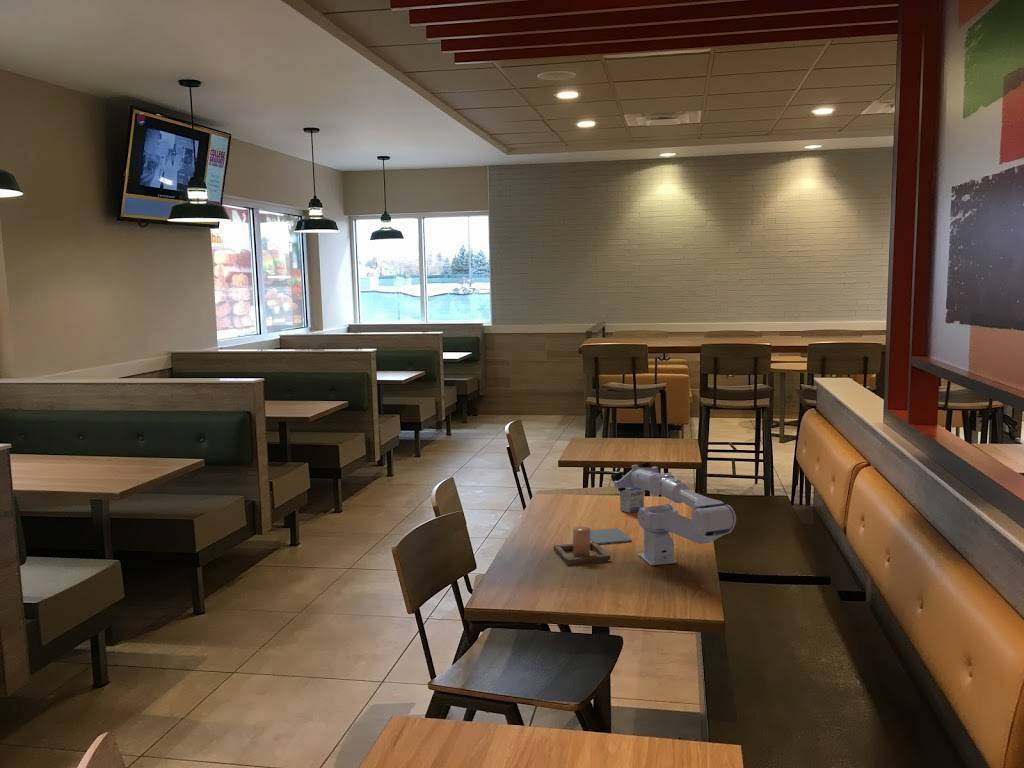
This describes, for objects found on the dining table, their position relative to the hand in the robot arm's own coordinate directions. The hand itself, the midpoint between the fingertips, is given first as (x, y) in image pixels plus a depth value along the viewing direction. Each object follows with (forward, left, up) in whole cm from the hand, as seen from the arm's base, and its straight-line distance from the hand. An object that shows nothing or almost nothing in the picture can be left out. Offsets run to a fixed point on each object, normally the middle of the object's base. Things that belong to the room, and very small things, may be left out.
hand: (623, 473), depth 252 cm
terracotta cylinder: (-12, +17, -21) cm, 29 cm away
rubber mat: (+2, +4, -21) cm, 21 cm away
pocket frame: (-12, +17, -21) cm, 29 cm away
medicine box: (+28, -15, -21) cm, 38 cm away
